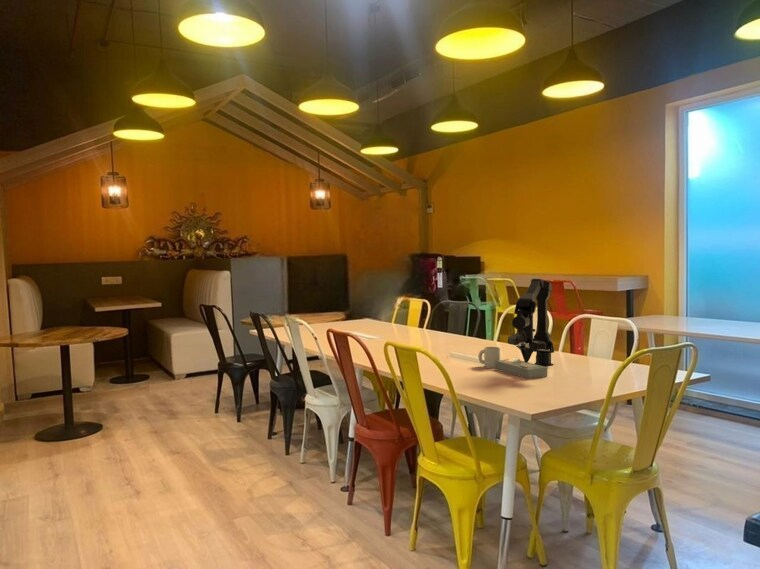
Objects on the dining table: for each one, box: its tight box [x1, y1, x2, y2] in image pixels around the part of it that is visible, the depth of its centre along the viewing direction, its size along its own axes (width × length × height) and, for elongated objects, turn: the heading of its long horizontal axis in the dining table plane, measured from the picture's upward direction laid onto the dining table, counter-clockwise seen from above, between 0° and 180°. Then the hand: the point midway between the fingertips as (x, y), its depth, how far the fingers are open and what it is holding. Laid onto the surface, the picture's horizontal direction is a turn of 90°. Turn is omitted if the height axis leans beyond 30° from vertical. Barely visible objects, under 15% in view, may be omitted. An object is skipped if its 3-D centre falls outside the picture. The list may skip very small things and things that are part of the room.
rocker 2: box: [521, 363, 537, 368], centre depth 246 cm, size 6×4×1 cm, turn 115°
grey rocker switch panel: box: [495, 358, 548, 380], centre depth 251 cm, size 10×23×4 cm, turn 25°
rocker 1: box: [505, 357, 521, 363], centre depth 256 cm, size 6×4×1 cm, turn 115°
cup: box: [478, 346, 501, 369], centre depth 266 cm, size 7×10×9 cm
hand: (526, 362), depth 245 cm, fingers closed
